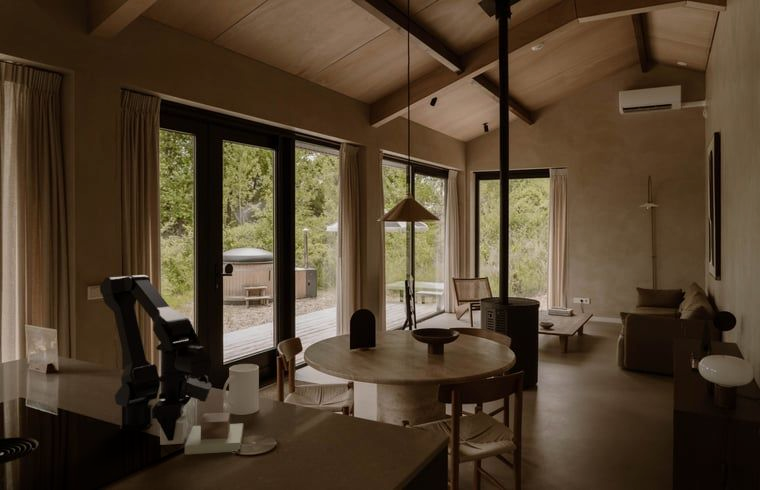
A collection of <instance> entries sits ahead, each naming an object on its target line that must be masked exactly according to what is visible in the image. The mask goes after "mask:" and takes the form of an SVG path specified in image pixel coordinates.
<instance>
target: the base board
mask: <svg viewBox="0 0 760 490" xmlns="http://www.w3.org/2000/svg"><path fill="white" fill-rule="evenodd" d="M243 433H244V423H243V422H242V423H230V430H229V434H228V438H222V439H204V440H201V425H193V426H192V428H191V430H190V433H189V435H188V437H187V440H186V442H185V444H184V455H197V454H198V455H199V454H201V455H202V454H212V453H213V454H215V453H217V454H218V453H231V452H232V450H236V449H240V450H241V447H240V445H241V446H242V439H243ZM232 453H233V452H232Z"/></svg>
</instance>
